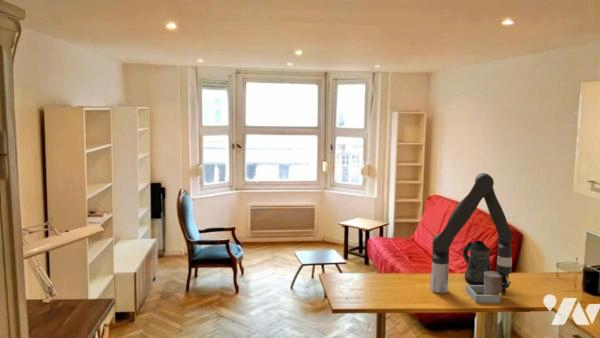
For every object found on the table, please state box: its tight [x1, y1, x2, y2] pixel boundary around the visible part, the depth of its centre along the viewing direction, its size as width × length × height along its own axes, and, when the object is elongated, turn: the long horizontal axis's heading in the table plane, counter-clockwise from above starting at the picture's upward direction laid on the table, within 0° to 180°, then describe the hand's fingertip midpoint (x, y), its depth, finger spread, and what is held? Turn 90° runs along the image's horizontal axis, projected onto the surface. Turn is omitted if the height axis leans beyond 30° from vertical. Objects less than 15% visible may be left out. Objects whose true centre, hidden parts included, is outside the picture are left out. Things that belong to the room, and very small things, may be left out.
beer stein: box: [462, 240, 492, 285], centre depth 271 cm, size 16×19×25 cm
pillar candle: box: [483, 270, 503, 301], centre depth 247 cm, size 10×10×15 cm
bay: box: [465, 284, 503, 304], centre depth 248 cm, size 14×15×5 cm
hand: (503, 293), depth 247 cm, fingers closed
